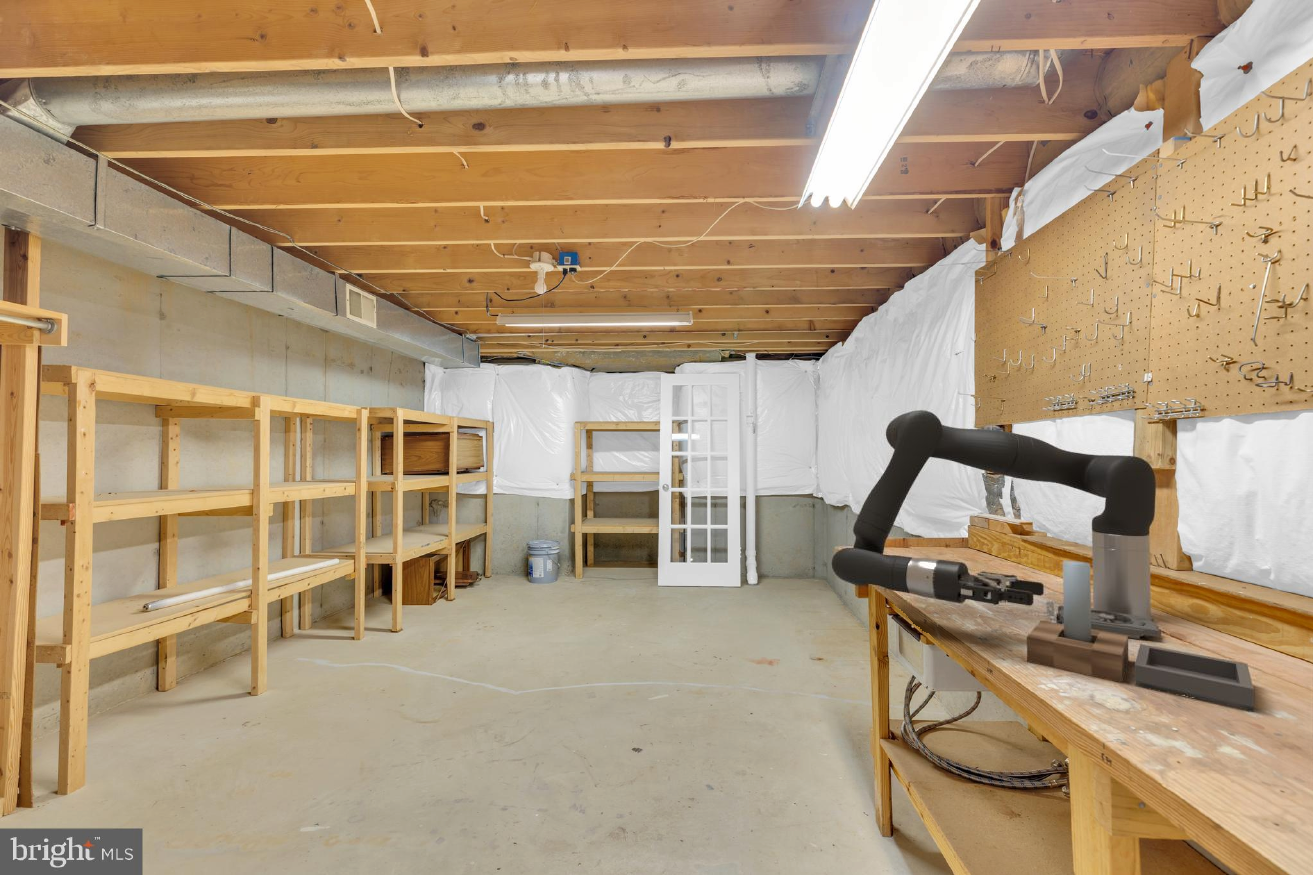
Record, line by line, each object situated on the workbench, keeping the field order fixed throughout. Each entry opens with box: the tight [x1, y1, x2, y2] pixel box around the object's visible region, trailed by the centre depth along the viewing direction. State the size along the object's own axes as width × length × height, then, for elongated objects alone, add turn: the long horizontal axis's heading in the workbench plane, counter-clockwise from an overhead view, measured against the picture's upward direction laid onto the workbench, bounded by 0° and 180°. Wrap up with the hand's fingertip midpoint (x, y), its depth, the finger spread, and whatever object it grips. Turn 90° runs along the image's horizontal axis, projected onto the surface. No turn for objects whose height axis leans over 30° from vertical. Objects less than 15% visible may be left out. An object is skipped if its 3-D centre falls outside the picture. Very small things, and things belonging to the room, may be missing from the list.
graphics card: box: [1046, 601, 1162, 640], centre depth 107 cm, size 17×4×12 cm
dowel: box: [1062, 560, 1092, 643], centre depth 92 cm, size 4×4×16 cm
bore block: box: [1026, 619, 1129, 683], centre depth 92 cm, size 12×12×4 cm
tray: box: [1134, 643, 1255, 713], centre depth 83 cm, size 12×12×3 cm
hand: (1038, 594), depth 96 cm, fingers open, 8 cm apart
